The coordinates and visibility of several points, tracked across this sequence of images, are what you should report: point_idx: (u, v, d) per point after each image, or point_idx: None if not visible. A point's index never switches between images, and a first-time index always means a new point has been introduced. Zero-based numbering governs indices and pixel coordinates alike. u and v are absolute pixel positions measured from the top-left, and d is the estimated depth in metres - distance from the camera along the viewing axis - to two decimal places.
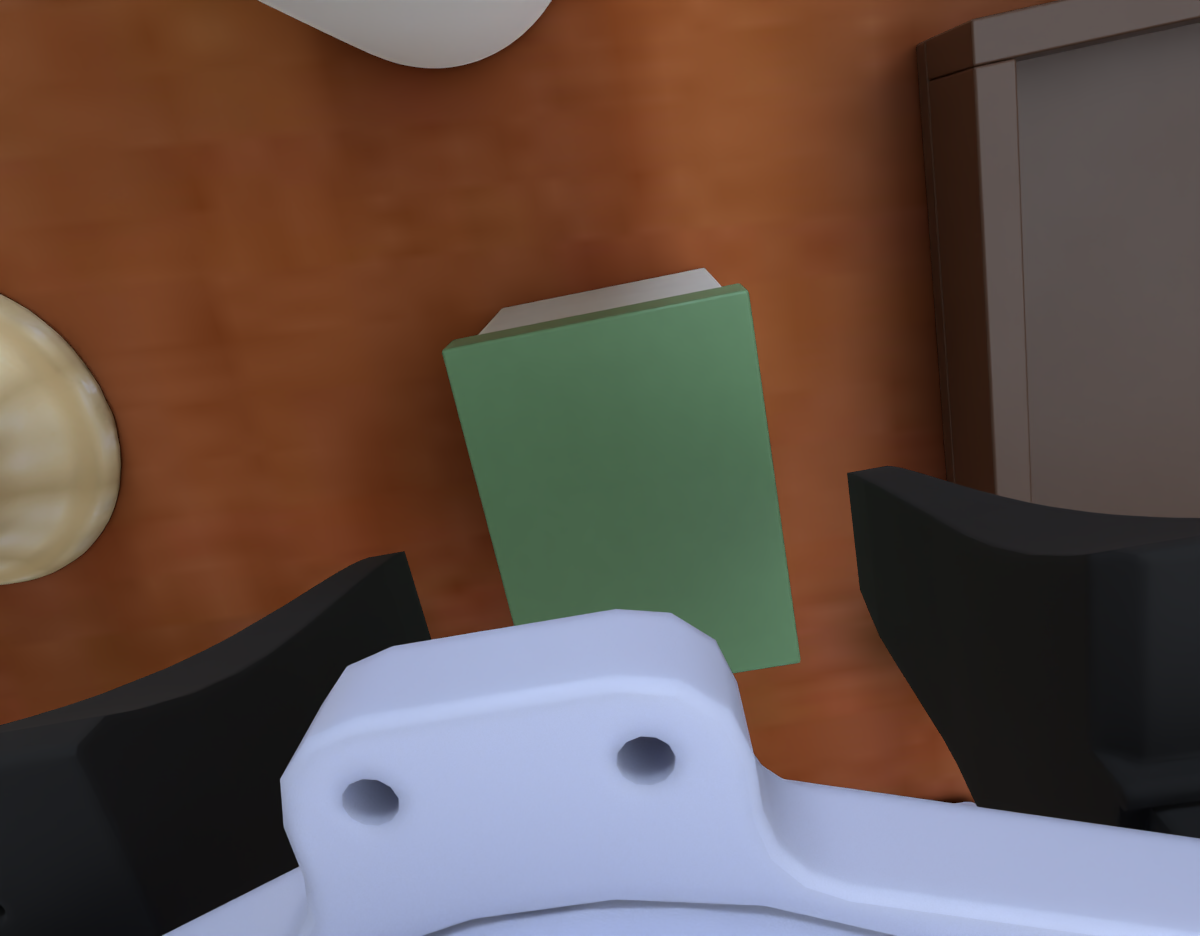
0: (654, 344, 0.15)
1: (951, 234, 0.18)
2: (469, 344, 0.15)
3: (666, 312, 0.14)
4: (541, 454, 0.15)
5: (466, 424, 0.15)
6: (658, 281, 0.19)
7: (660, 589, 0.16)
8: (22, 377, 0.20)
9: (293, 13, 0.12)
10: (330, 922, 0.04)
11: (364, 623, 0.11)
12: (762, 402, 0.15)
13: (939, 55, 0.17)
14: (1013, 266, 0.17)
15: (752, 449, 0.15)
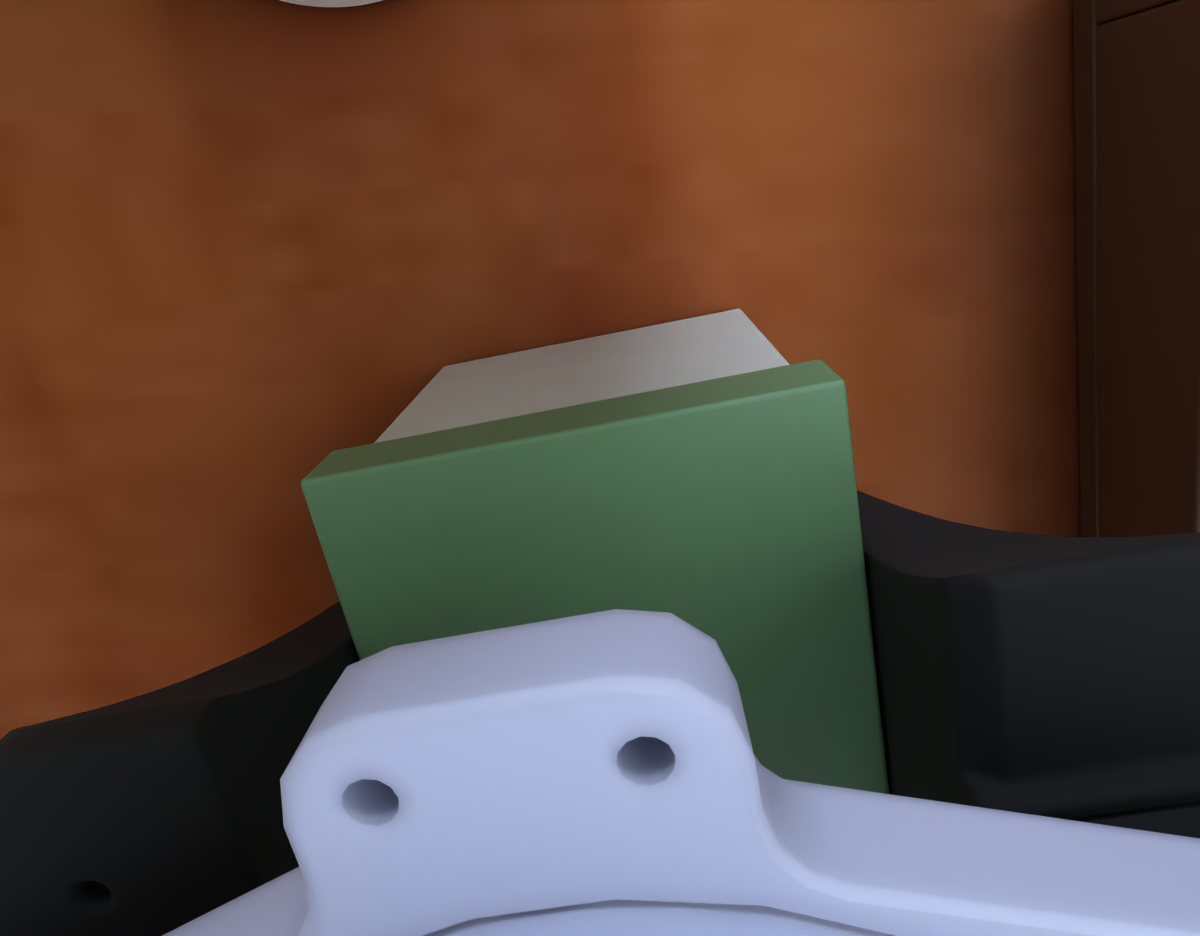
0: (674, 472, 0.08)
1: (1127, 262, 0.12)
2: (347, 471, 0.08)
3: (696, 418, 0.08)
4: None
5: (349, 602, 0.09)
6: (673, 331, 0.13)
7: None
8: None
9: None
10: (330, 922, 0.04)
11: None
12: (862, 569, 0.08)
13: None
14: None
15: (842, 645, 0.09)
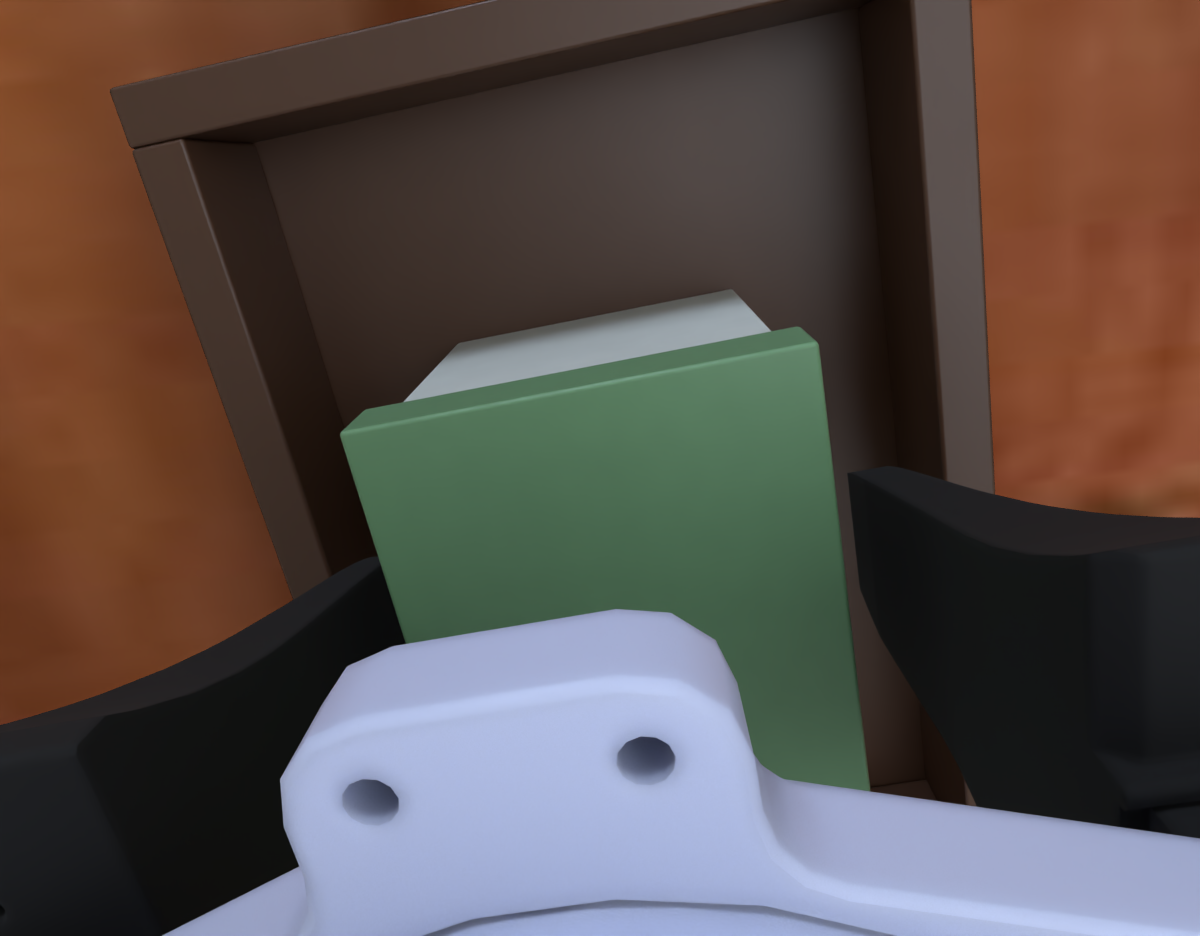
0: (669, 424, 0.09)
1: None
2: (382, 423, 0.09)
3: (689, 376, 0.09)
4: (496, 585, 0.10)
5: (381, 541, 0.10)
6: (670, 309, 0.14)
7: None
8: None
9: None
10: (330, 922, 0.04)
11: (364, 623, 0.11)
12: (836, 511, 0.10)
13: None
14: (256, 400, 0.13)
15: (818, 580, 0.10)
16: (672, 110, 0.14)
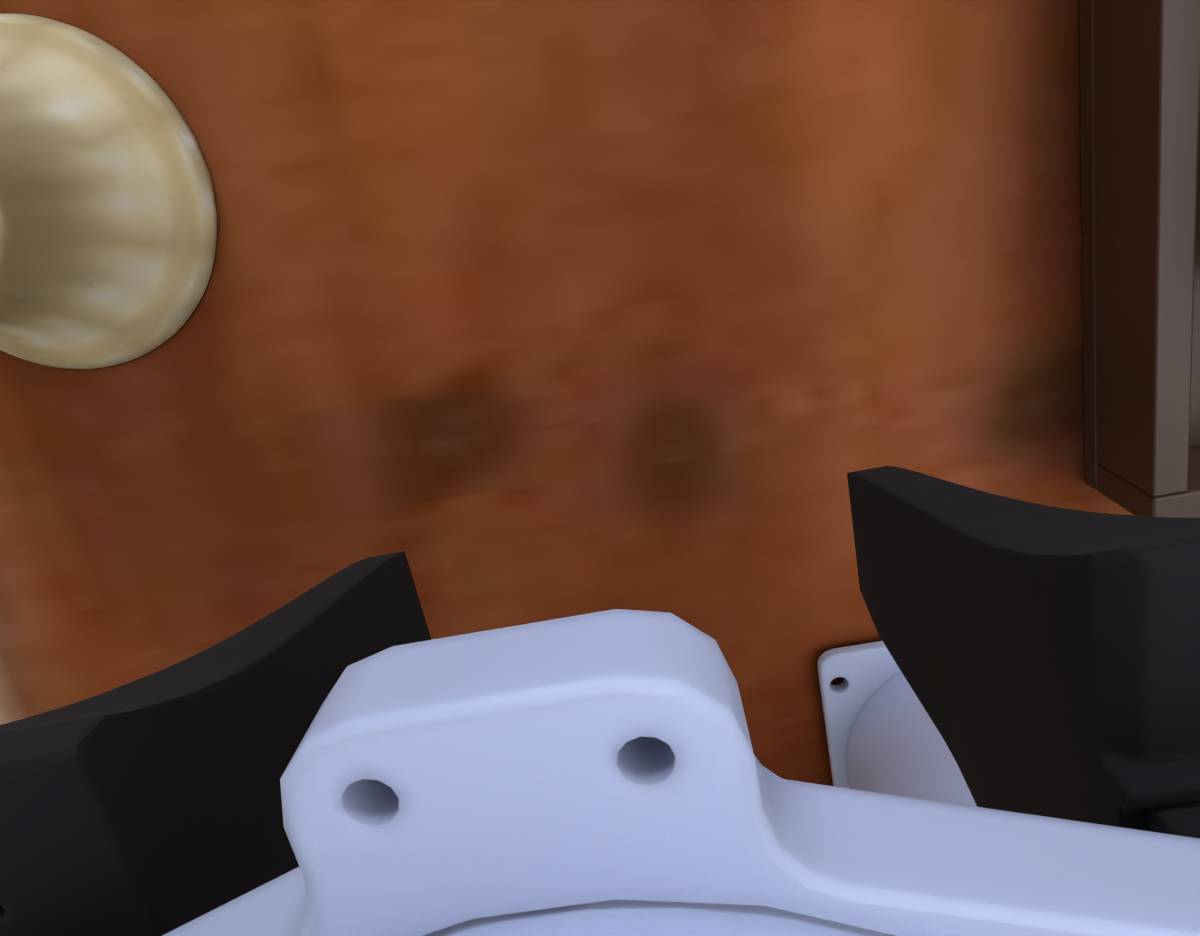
0: None
1: None
2: None
3: None
4: None
5: None
6: None
7: None
8: (122, 120, 0.19)
9: None
10: (330, 922, 0.04)
11: (364, 623, 0.11)
12: None
13: None
14: None
15: None
16: None
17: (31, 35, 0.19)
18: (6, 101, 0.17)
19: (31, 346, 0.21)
